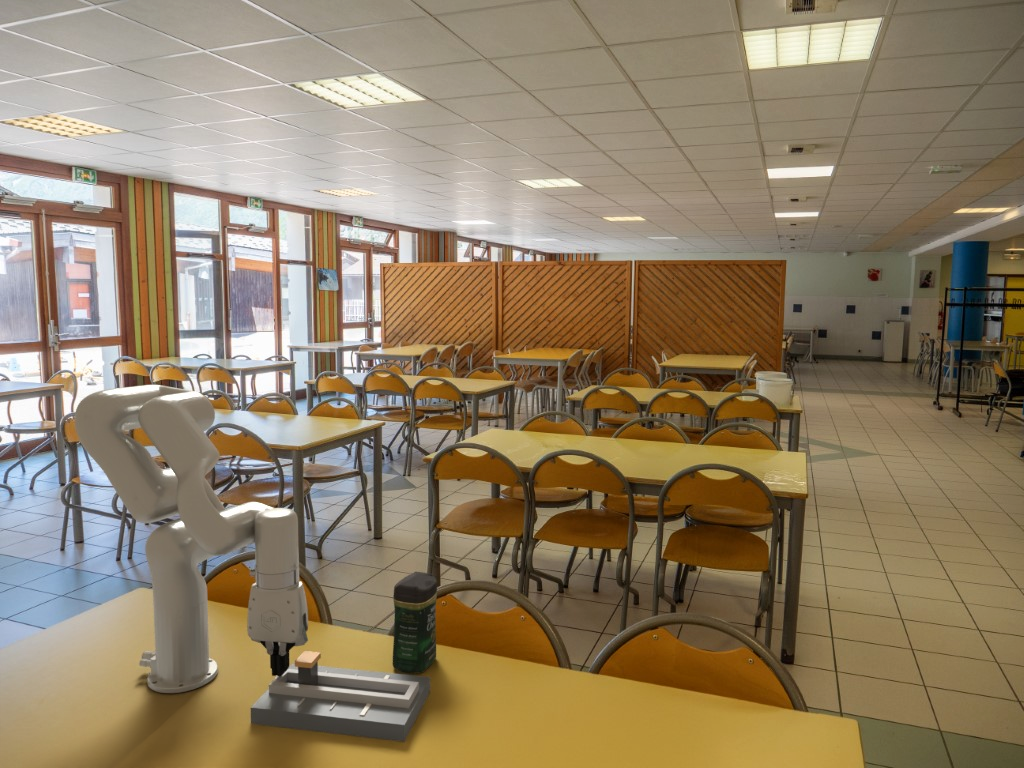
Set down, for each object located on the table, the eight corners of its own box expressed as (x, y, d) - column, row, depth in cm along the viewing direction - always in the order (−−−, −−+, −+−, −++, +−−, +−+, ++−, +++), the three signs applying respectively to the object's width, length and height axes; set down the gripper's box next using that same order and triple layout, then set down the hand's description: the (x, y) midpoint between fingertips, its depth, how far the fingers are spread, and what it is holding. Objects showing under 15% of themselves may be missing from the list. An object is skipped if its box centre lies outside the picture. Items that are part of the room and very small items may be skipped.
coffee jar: (423, 678, 141) (423, 588, 140) (387, 671, 144) (387, 583, 142) (442, 656, 151) (442, 571, 149) (407, 650, 153) (408, 566, 151)
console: (250, 723, 125) (250, 698, 125) (292, 677, 141) (292, 655, 140) (404, 741, 121) (404, 716, 120) (430, 692, 136) (430, 669, 136)
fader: (295, 692, 130) (294, 661, 129) (304, 681, 134) (304, 650, 133) (311, 694, 129) (311, 662, 129) (321, 683, 133) (320, 652, 133)
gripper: (228, 581, 128) (231, 679, 130) (307, 587, 125) (309, 686, 127) (250, 567, 135) (253, 659, 137) (324, 572, 133) (326, 666, 135)
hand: (280, 672), depth 132 cm, fingers closed
